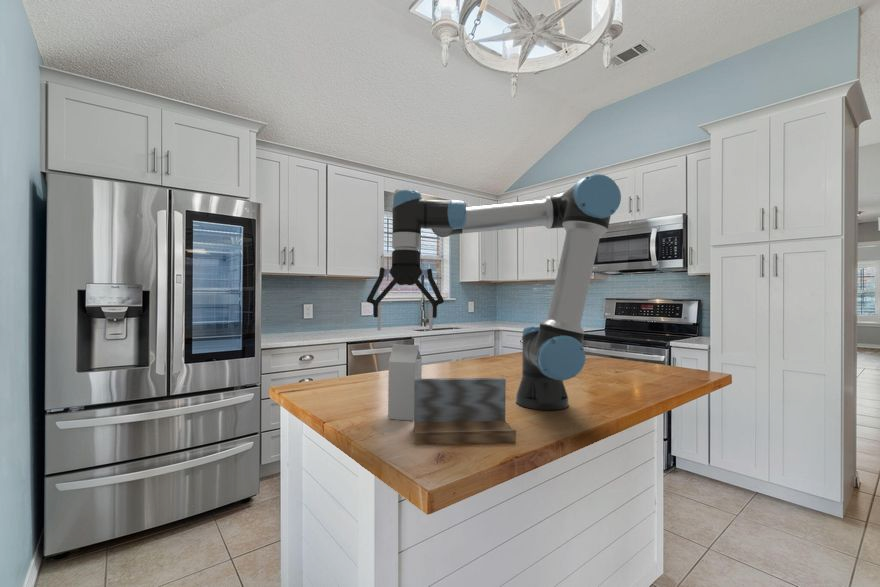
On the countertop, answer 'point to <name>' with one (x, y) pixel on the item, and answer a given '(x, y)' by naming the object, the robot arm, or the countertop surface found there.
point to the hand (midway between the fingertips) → (405, 330)
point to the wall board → (461, 411)
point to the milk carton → (403, 380)
